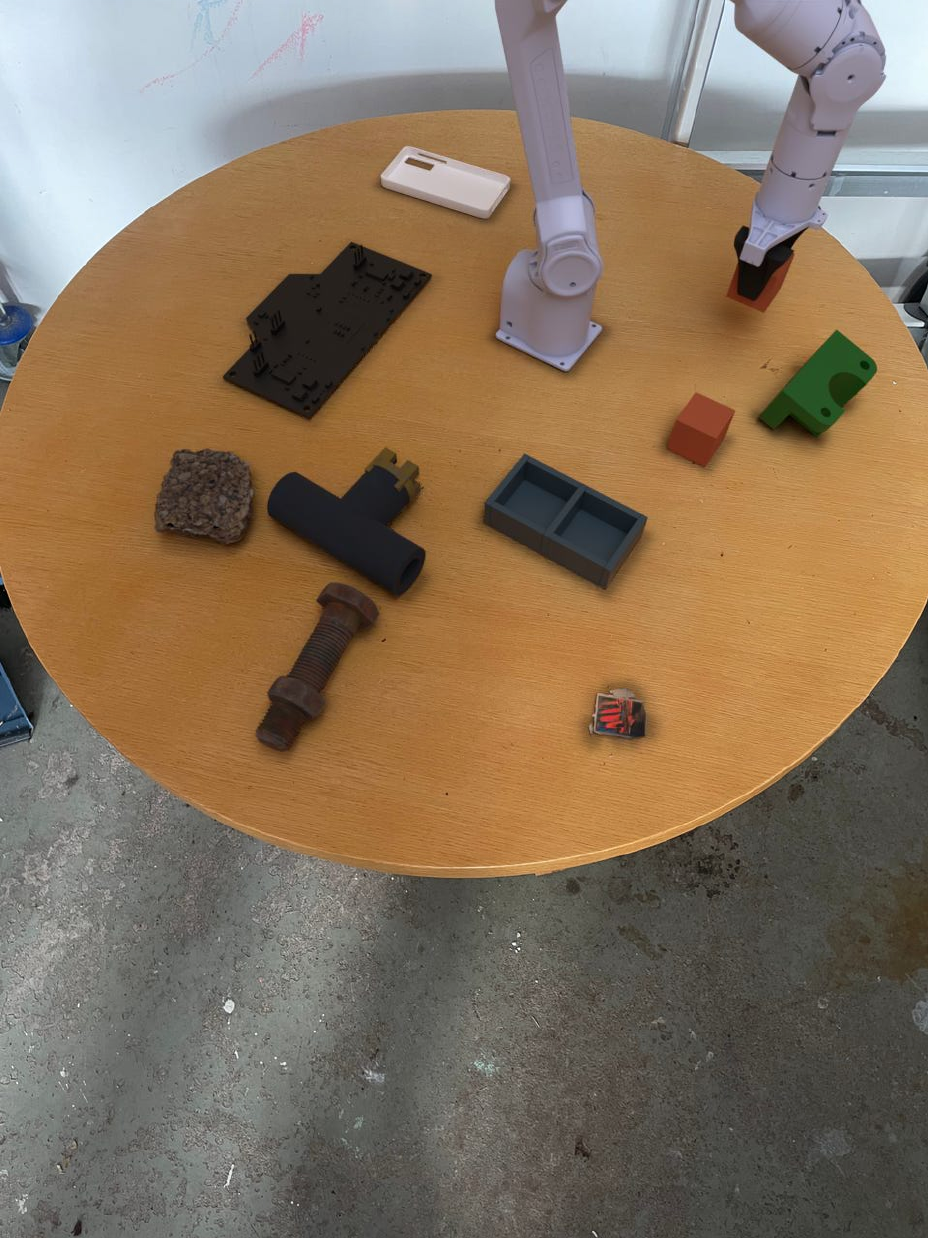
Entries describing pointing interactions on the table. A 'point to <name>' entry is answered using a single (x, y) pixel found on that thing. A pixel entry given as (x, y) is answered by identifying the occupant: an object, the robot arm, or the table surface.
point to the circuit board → (323, 327)
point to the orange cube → (768, 291)
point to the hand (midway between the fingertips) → (756, 282)
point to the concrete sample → (206, 496)
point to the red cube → (700, 429)
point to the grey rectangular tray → (564, 520)
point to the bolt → (315, 664)
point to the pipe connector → (357, 520)
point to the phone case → (447, 183)
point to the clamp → (822, 386)
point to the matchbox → (619, 715)
